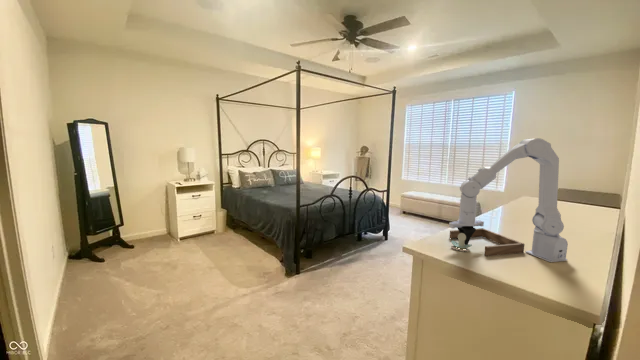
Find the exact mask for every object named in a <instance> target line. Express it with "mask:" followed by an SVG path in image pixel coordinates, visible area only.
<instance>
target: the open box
mask: <svg viewBox="0 0 640 360" xmlns="http://www.w3.org/2000/svg"><path fill="white" fill-rule="evenodd" d="M459 234H460V232H459V230H458V229H455V230H449V239H450V238H451V239H450V240H453V239H452V238H458V235H459ZM479 237H482V238H484V239H486V240H489V241H492V242H494V243H496V245H495V244H494V245H488V246H484V256H485V257H493V256H504V255H513V254H514V255H515V254H521V253H522V254H523V253H524V251H525V243H524V242H521V241H518V240H515V239H513V238H510V237H507V236H505V235H501V234H499V233H497V232H495V231H491V230H489V229H485V228H484V227H483V228H476V231H475V232H474V233H473V235H472V236H471V238H479Z"/></svg>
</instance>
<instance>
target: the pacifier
mask: <svg viewBox="0 0 640 360" xmlns="http://www.w3.org/2000/svg"><path fill="white" fill-rule="evenodd" d="M465 240H466V235H465V234H464V233H460V234H459V235H458V242H457V241H455V240H451V242H450V243H451V247H450V248H452V250H455V249H456V251H458V250H460V251H459V252H464V251H467V252H470V249H469V248H470V247H472V246H473V245H472V244H471V243H470V244H469V243H468V245H465V244H464V243H465ZM456 247H457V248H456ZM458 248H460V249H458ZM463 249H466V250H463Z"/></svg>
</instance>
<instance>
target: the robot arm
mask: <svg viewBox="0 0 640 360" xmlns="http://www.w3.org/2000/svg"><path fill="white" fill-rule="evenodd" d="M524 158H530V159H533V160H534V161H535V162H536V163H538V164H539V176H538V177H539V179H538V180H539V182H538V188H539V189H538V204H537V205H538V206H536V208H535V212H534V215H533V216H532V220H531V221H532V224H533V225H534V229H533V234H532V244H531V245H532V246H531V250H524V251H525V254H528V255H532V256H534V257H537V258H539V259H542V260H544V261H546V262H549V263H553V262H554V263H555V262H565V261H568V258H567V254H568V253H567V252H568V240H567V239H566V238H564V237H562V236H561V235H560V234H561V233H562V232H563V230H564V227H565V225H564V222H563V221H562V217H561V216H562V215H561V212H560V211H559V209H558V193H559V167H560V157H559V156H558V155H557V153H556V152H555V151H554V148H553V147H552V144H551V143H550V142H548V141H547V140H545V139H543V138H540V137H539V138H538V137H537V138H524V139H523V140H520V142H519V143H517V144H515V145H514V146H513V147H511V148H510V149H509V150H508V151H506V152H505V153H504V154H503V155H502V156H500V158H499V159H497V160H496V161H495V162H494V163H492V164H491V165H490V166H485V167H484V166H483V167H482V168H481V167H480V168H478V169H477V172H476V173H475V174H474V175H472V176H471V177H467V180H466V181H463V182H462V183H461V184H460V186H459V190H460V192H461V193H460V199H459V214H458V216H459V217H458V219H457V220H456V221H455V220H454V221H452V222H449V224H448V227H449V228H450V229H456V228H457V230H459V232H460V233H464V234H465V235H466V240H465V243H464V245H468V244H469V243H470V239H471V238H472V237H471V236H472V235H473V233H474V232H475V231H476V229H477V228H476V227H484V225H485V221H483V220H476V215H477V201H478V199H477V197H478V196H479V194H480V191H481V190H482V189H484V188H485V187H486V186H487V185H489V184H490V183H491V182H493V181H494V180H495V179H496V178H497V173H499V172H500V171H501V170H503V169H504V168H506V167H507V166H508V165H510V164H512V163H513V162H514V161H516V160H519V159H524Z"/></svg>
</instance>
